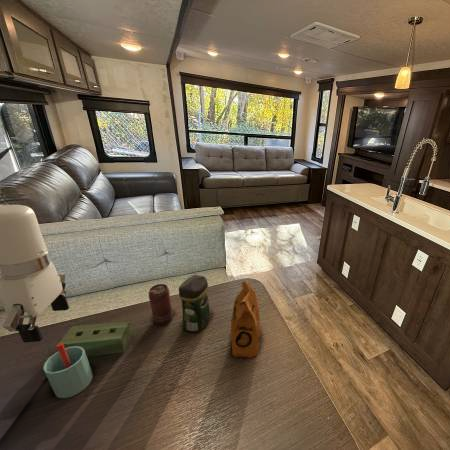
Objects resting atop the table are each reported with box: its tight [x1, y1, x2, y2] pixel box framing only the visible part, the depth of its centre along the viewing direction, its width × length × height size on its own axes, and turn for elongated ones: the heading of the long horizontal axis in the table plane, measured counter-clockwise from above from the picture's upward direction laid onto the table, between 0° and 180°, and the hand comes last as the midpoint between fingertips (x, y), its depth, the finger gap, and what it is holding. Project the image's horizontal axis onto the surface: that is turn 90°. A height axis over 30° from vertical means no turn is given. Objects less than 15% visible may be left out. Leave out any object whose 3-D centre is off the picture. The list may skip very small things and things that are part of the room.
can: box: [148, 283, 174, 326], centre depth 87 cm, size 6×6×14 cm
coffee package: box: [230, 280, 262, 359], centre depth 80 cm, size 10×12×22 cm
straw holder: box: [59, 320, 134, 358], centre depth 77 cm, size 7×16×6 cm, turn 103°
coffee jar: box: [178, 274, 212, 332], centre depth 87 cm, size 10×8×19 cm
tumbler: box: [42, 346, 94, 399], centre depth 65 cm, size 8×8×10 cm
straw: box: [55, 342, 72, 369], centre depth 64 cm, size 1×1×14 cm
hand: (48, 324), depth 59 cm, fingers open, 9 cm apart
